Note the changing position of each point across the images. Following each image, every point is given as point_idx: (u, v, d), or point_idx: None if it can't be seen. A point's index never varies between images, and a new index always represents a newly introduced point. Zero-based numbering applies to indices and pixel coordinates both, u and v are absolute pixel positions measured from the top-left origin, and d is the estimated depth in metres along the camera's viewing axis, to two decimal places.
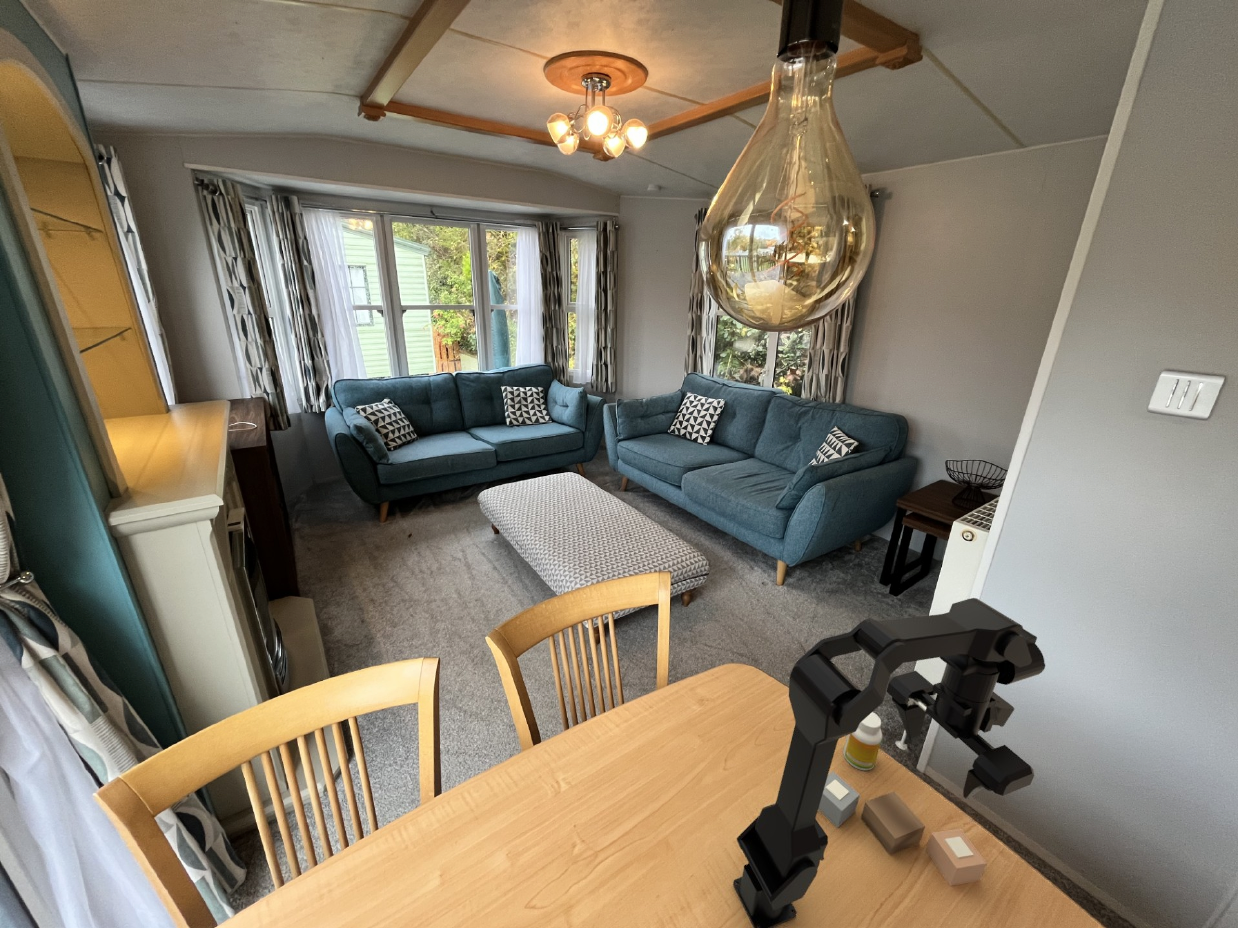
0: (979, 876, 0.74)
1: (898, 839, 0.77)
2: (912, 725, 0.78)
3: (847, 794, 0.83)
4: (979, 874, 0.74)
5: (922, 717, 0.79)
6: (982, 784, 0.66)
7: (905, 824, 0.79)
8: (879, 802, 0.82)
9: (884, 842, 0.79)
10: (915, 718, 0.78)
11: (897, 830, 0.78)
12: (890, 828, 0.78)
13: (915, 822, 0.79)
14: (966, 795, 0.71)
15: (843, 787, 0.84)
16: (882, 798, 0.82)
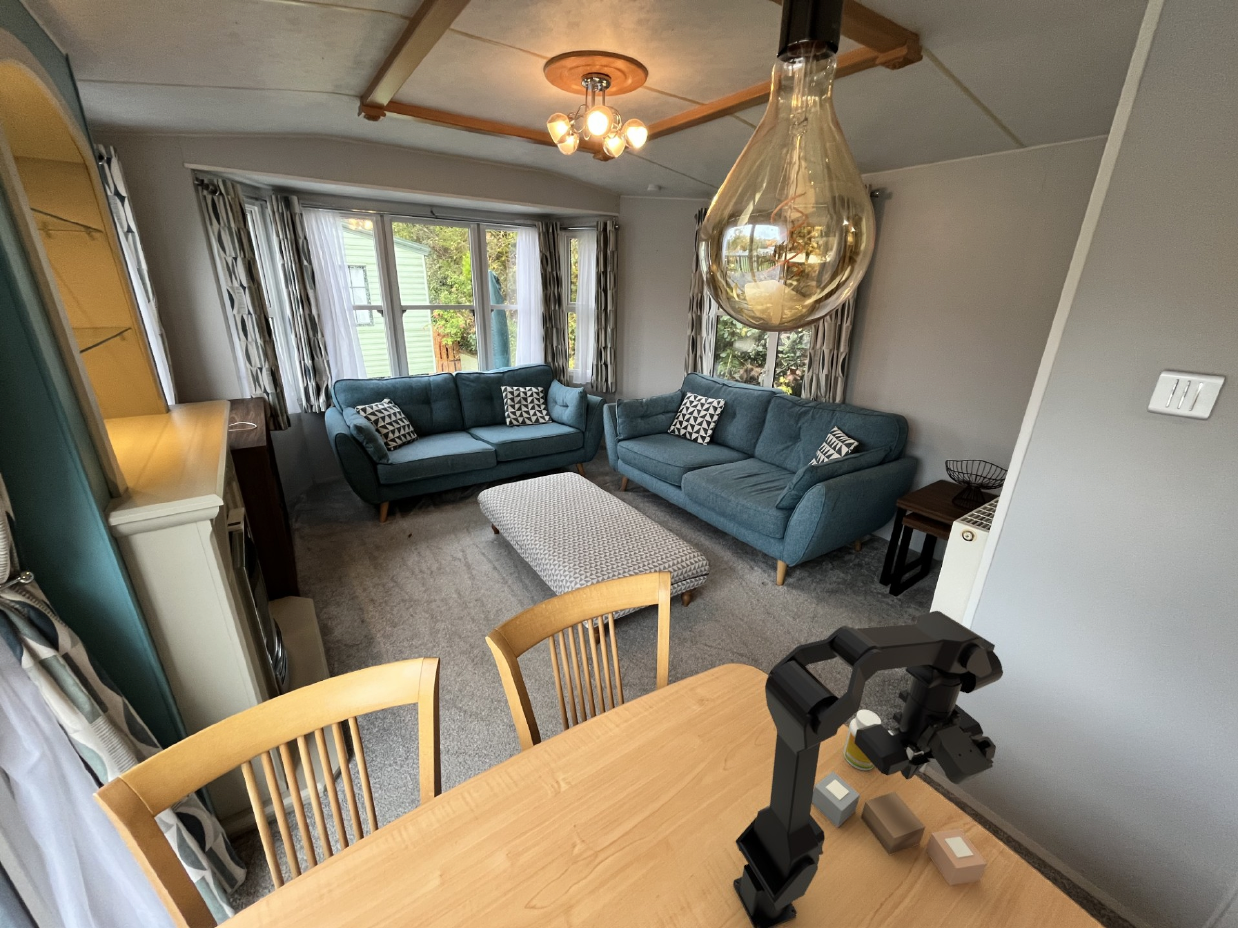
0: (979, 876, 0.74)
1: (898, 839, 0.77)
2: None
3: (847, 794, 0.83)
4: (979, 874, 0.74)
5: None
6: None
7: (905, 824, 0.79)
8: (879, 802, 0.82)
9: (883, 842, 0.79)
10: None
11: (896, 830, 0.78)
12: (890, 828, 0.78)
13: (915, 822, 0.79)
14: None
15: (843, 787, 0.84)
16: (882, 798, 0.82)
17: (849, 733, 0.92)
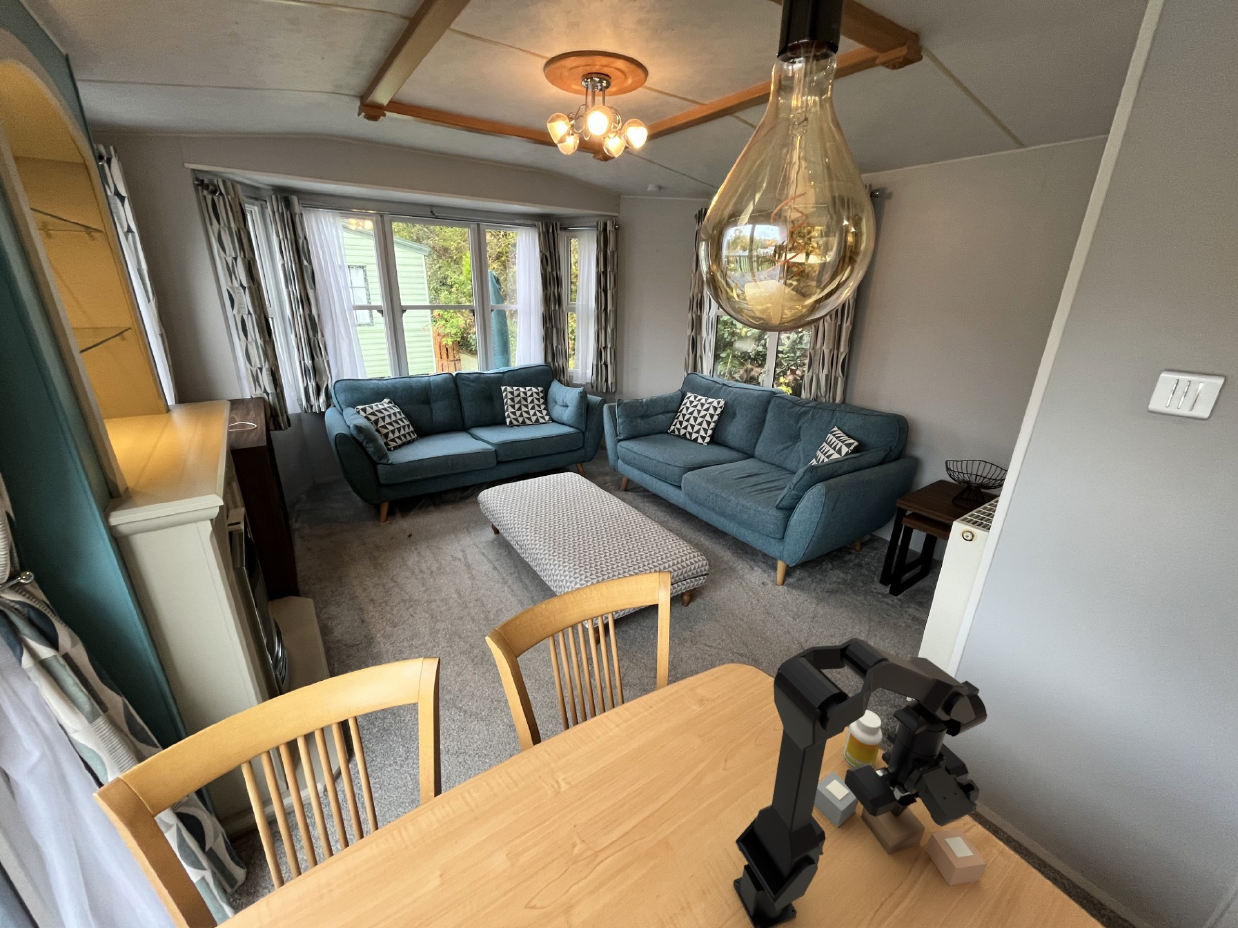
0: (979, 876, 0.74)
1: (897, 839, 0.77)
2: None
3: (847, 794, 0.83)
4: (979, 874, 0.74)
5: None
6: (875, 770, 0.79)
7: (904, 824, 0.79)
8: None
9: (882, 842, 0.79)
10: None
11: (896, 830, 0.78)
12: (889, 828, 0.78)
13: (915, 823, 0.79)
14: None
15: (843, 787, 0.84)
16: None
17: (849, 733, 0.92)
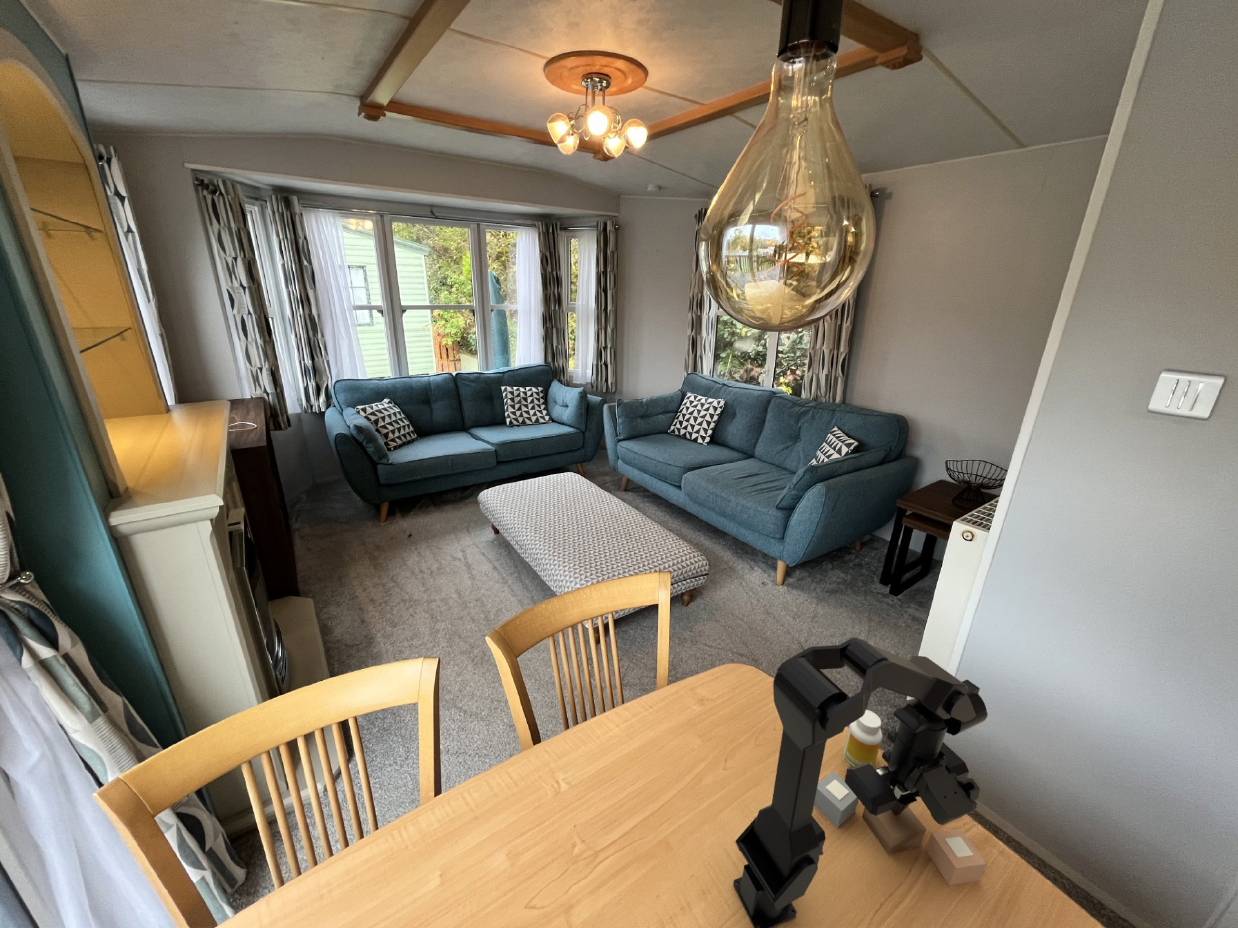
0: (979, 876, 0.74)
1: (897, 839, 0.77)
2: None
3: (847, 794, 0.83)
4: (979, 874, 0.74)
5: None
6: (875, 769, 0.79)
7: (905, 825, 0.78)
8: None
9: (883, 842, 0.79)
10: None
11: (896, 830, 0.78)
12: (890, 828, 0.78)
13: (916, 824, 0.79)
14: None
15: (843, 787, 0.84)
16: None
17: (849, 733, 0.92)
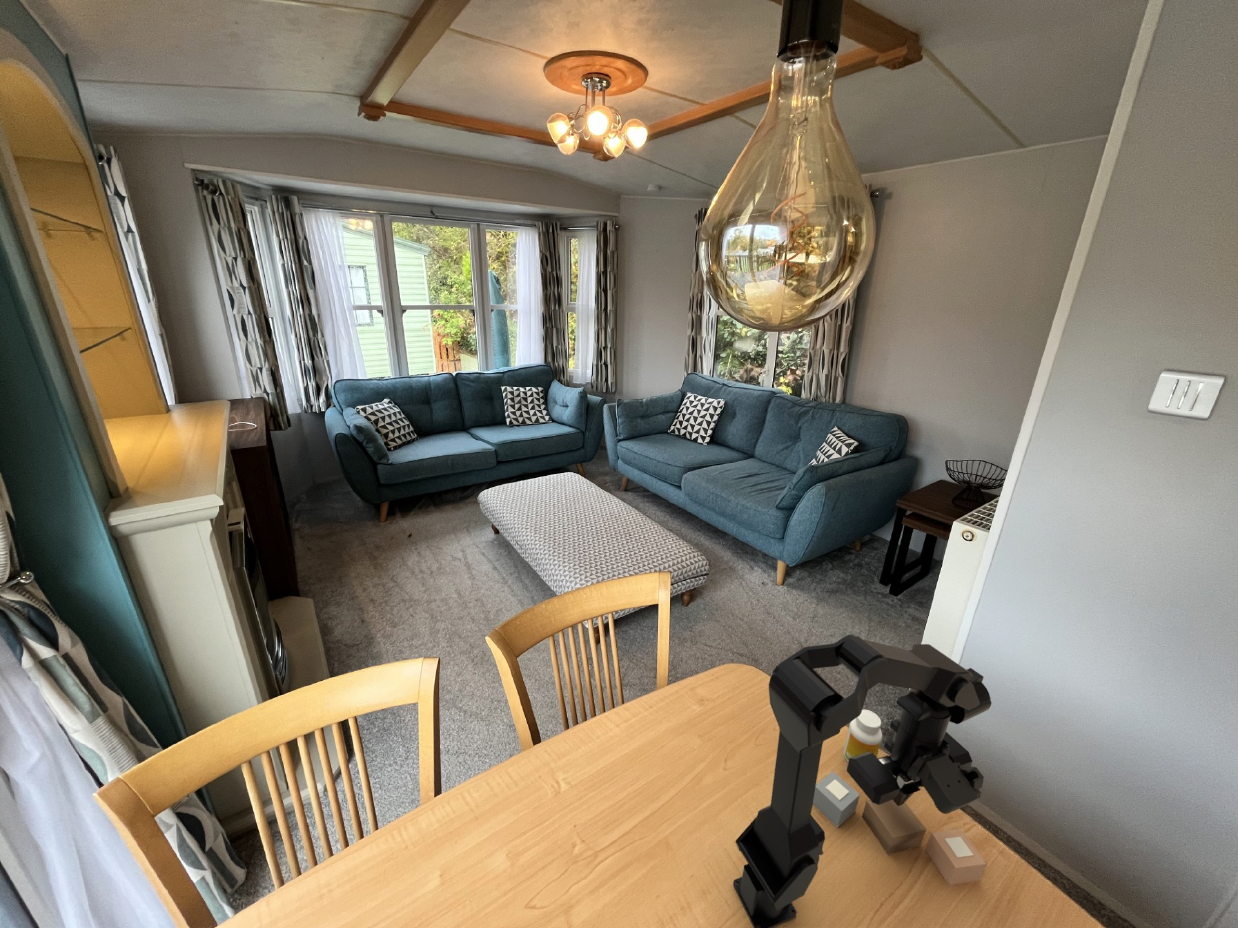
0: (979, 877, 0.74)
1: (897, 839, 0.77)
2: None
3: (847, 794, 0.83)
4: (979, 874, 0.74)
5: None
6: None
7: (905, 825, 0.78)
8: None
9: (883, 841, 0.79)
10: None
11: (896, 830, 0.78)
12: (889, 827, 0.78)
13: (916, 824, 0.79)
14: None
15: (843, 787, 0.84)
16: None
17: (849, 733, 0.92)
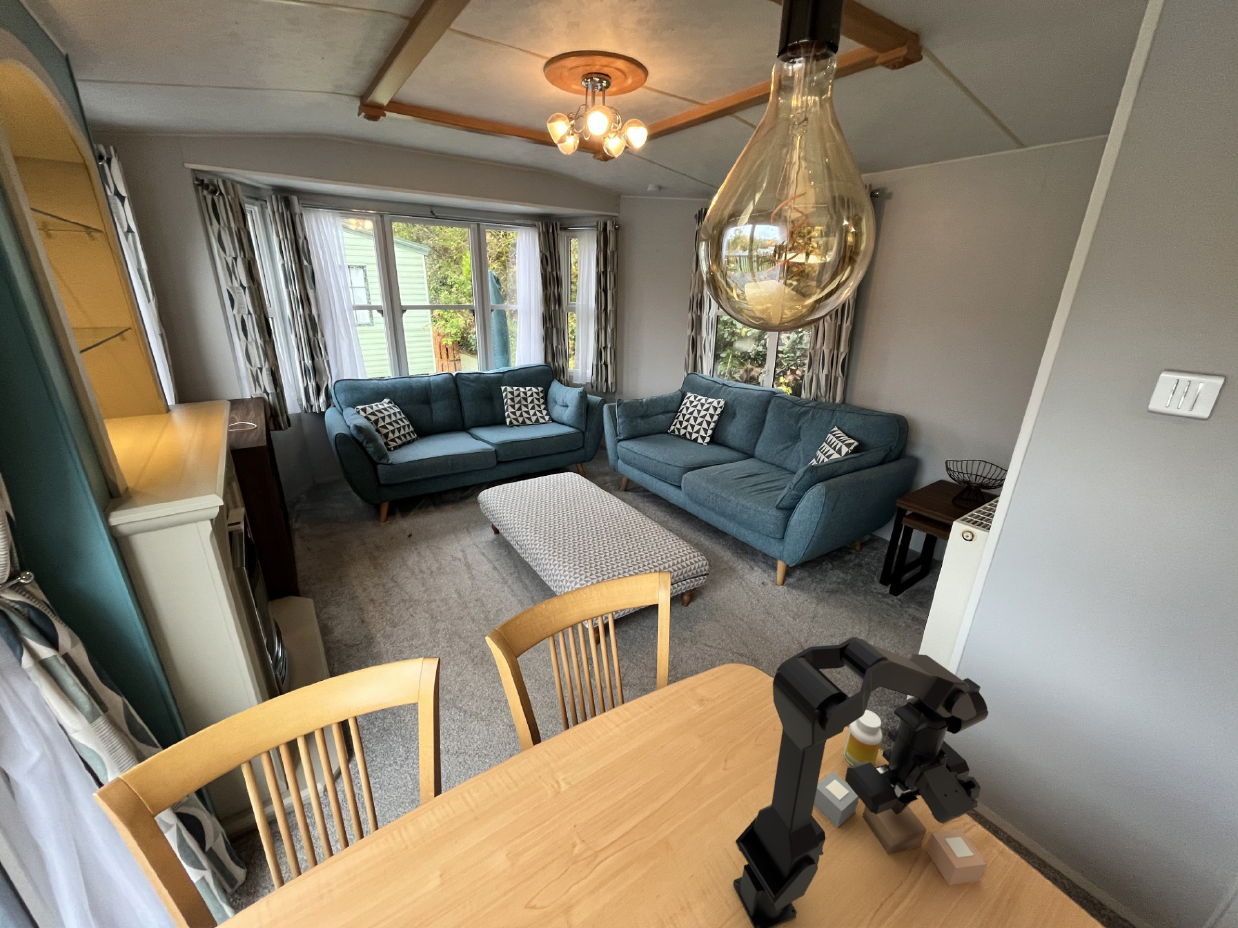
0: (979, 877, 0.74)
1: (897, 839, 0.77)
2: None
3: (847, 794, 0.83)
4: (979, 875, 0.74)
5: None
6: (876, 768, 0.79)
7: (905, 825, 0.78)
8: None
9: (883, 841, 0.79)
10: None
11: (896, 830, 0.78)
12: (890, 828, 0.78)
13: (916, 825, 0.79)
14: None
15: (843, 787, 0.84)
16: None
17: (849, 733, 0.92)
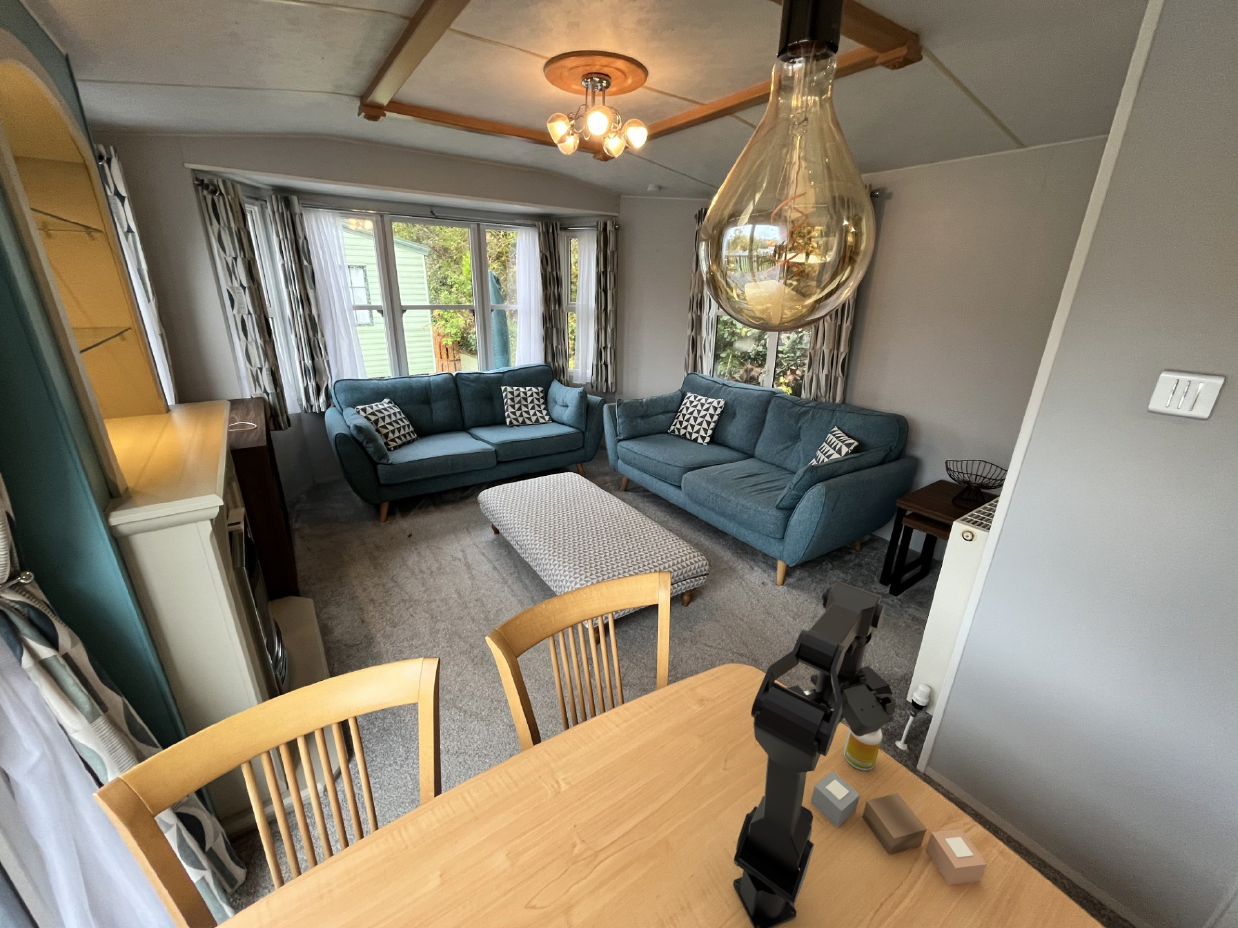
0: (979, 877, 0.74)
1: (898, 840, 0.77)
2: None
3: (847, 794, 0.83)
4: (979, 875, 0.74)
5: None
6: None
7: (906, 825, 0.78)
8: (881, 802, 0.82)
9: (883, 842, 0.79)
10: None
11: (897, 830, 0.78)
12: (890, 828, 0.78)
13: (916, 824, 0.79)
14: None
15: (843, 787, 0.84)
16: (884, 799, 0.82)
17: (849, 733, 0.92)
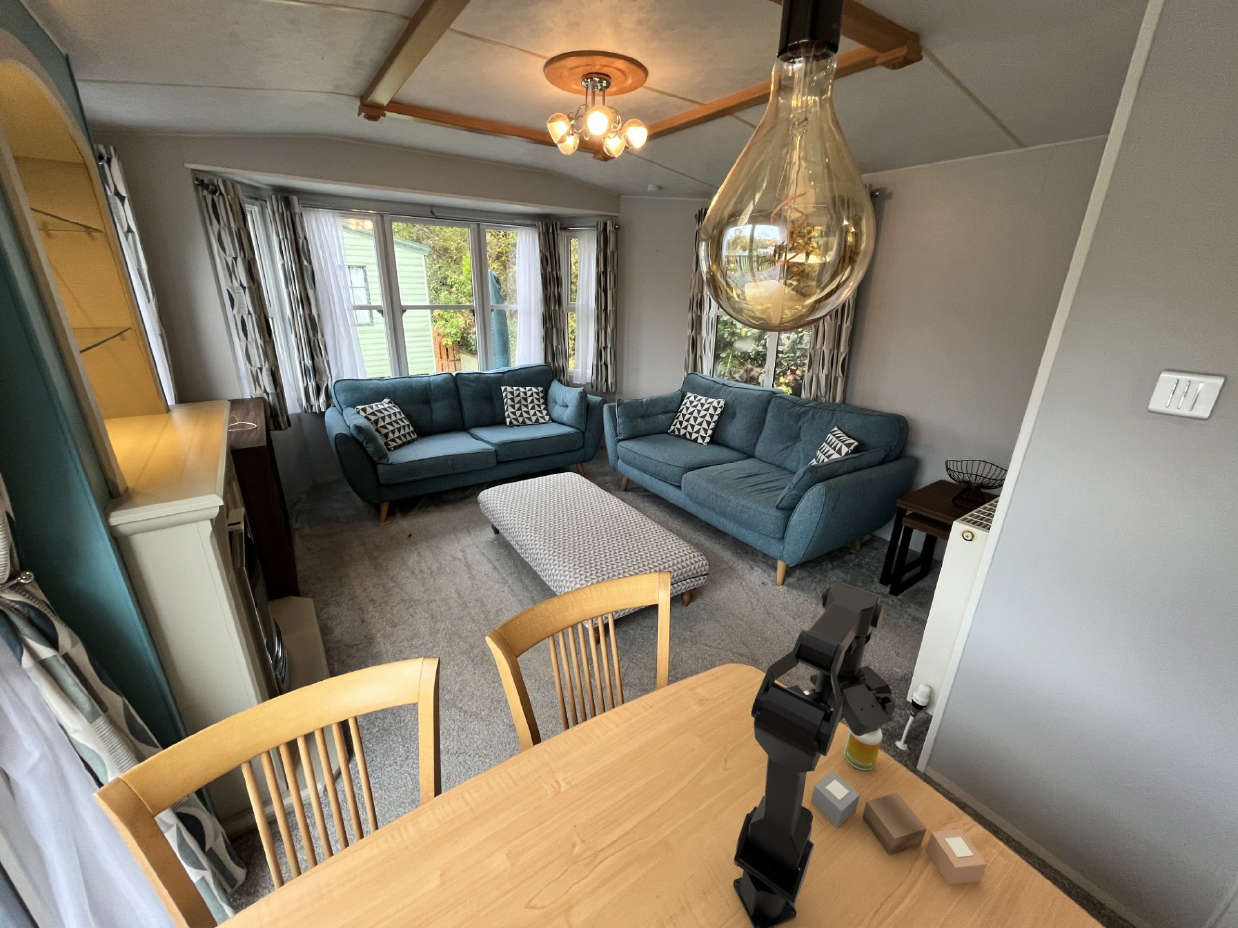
0: (979, 877, 0.74)
1: (898, 840, 0.77)
2: None
3: (847, 794, 0.83)
4: (979, 875, 0.74)
5: None
6: None
7: (906, 825, 0.78)
8: (881, 802, 0.82)
9: (884, 842, 0.79)
10: None
11: (897, 830, 0.78)
12: (891, 828, 0.78)
13: (916, 824, 0.79)
14: None
15: (843, 787, 0.84)
16: (884, 799, 0.82)
17: (849, 733, 0.92)
